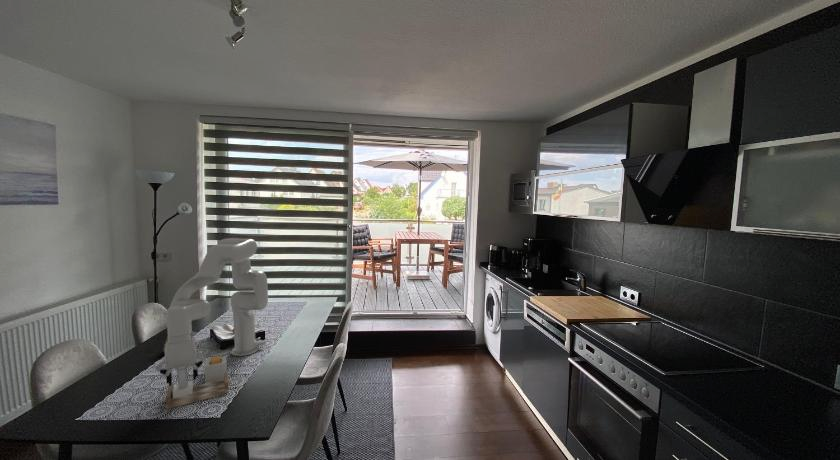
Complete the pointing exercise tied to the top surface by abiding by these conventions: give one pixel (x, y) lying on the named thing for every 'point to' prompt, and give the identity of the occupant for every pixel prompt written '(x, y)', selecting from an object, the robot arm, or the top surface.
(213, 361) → the button
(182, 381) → the grey pedestal
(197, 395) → the brown wooden tray
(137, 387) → the top surface
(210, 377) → the white box
